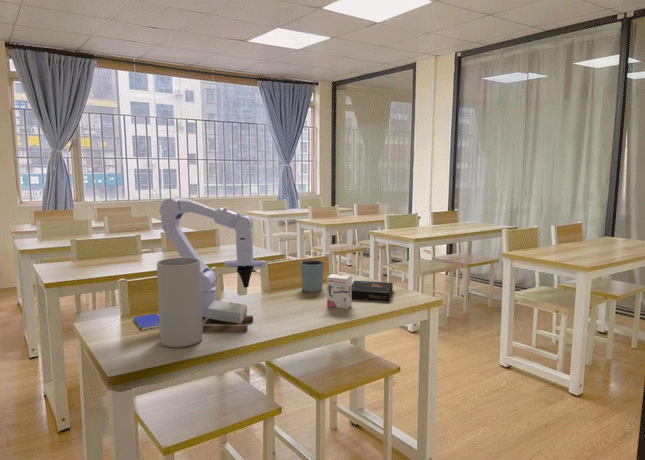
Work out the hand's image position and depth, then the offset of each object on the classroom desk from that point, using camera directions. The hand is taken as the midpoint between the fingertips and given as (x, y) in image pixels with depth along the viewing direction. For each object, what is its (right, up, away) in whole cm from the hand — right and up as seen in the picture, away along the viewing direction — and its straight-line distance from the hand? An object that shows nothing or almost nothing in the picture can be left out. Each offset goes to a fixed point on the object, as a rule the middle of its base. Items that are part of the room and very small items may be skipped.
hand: (246, 286), depth 172 cm
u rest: (-4, -12, -10) cm, 16 cm away
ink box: (+34, -9, +12) cm, 37 cm away
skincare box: (+1, -8, -9) cm, 13 cm away
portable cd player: (+48, -7, +28) cm, 56 cm away
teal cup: (+23, -6, +36) cm, 43 cm away
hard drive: (-32, -12, -7) cm, 35 cm away
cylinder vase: (-16, -14, -24) cm, 32 cm away
